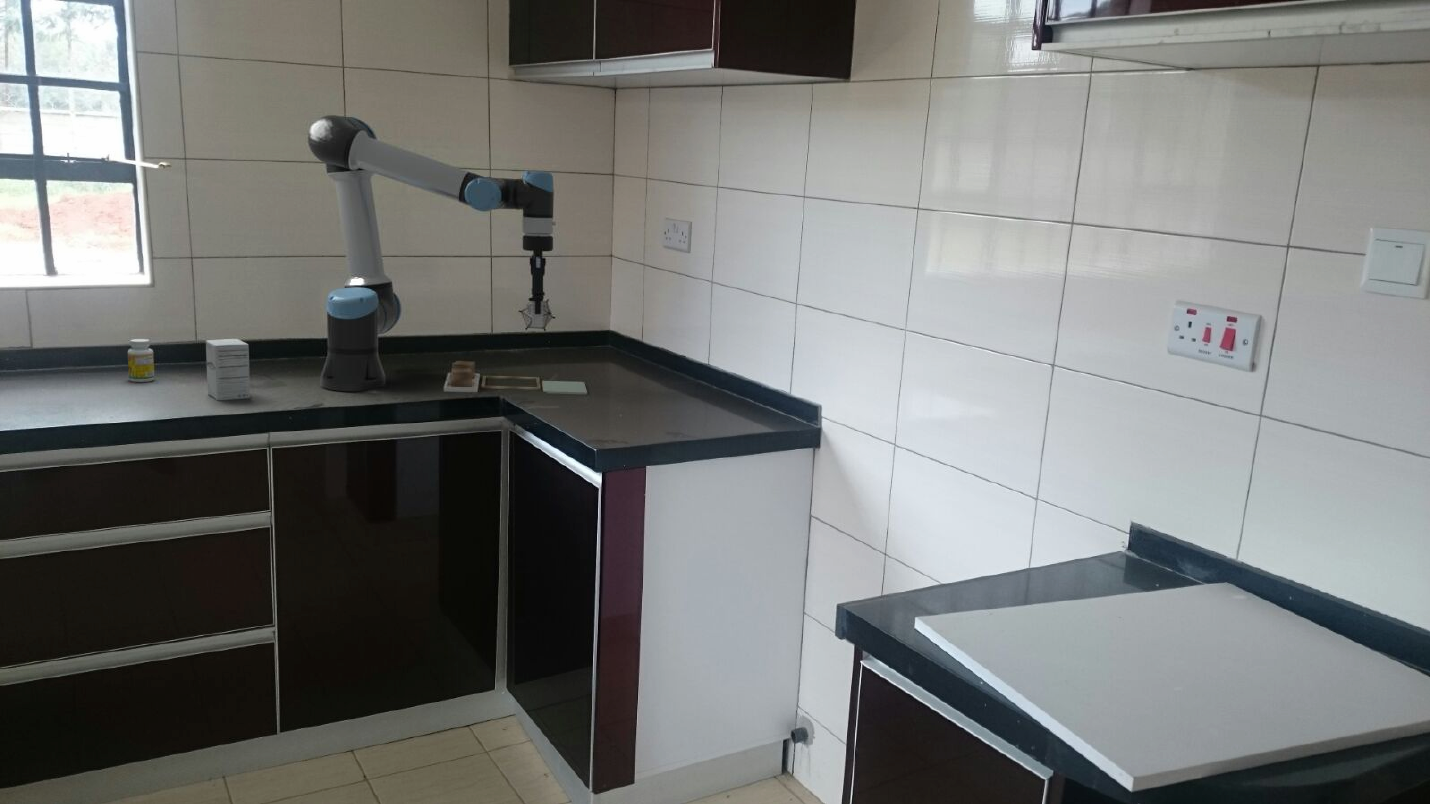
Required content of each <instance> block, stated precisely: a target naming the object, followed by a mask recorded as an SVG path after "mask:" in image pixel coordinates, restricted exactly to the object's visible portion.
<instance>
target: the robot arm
mask: <svg viewBox="0 0 1430 804" xmlns="http://www.w3.org/2000/svg"><path fill="white" fill-rule="evenodd" d="M307 143H308V147H309V149H310V151H311V153H312V154H313V156H314V157H315V158H317V159H318V160H319V161H321V163H322V162H323V163H324V164H325V168H326V169H325V170H326V174H327V176H328V177H329V178H331V179H332V180H333V181H334V183H335V185H334V186H335V193H336V198H337V199H336V200H337V203H338V204H337V205H338V211H339V218H340V223H341V231H342V237H343V245H344V251H345V256H346V264H347V270H348V277H349V278H348V279H347V280H346V282H345V283H344V288H338V289H335V290H333V291H330V293H329V294H328V296H327V304H326V306H325V307H326V308H325V309H326V319H327V320H326V325H327V329H326V330H327V356H326V359H325V362H324V366H323V369H322V371H321V374H320V387H321V388H323V389H327V390H331V391H335V392H336V391H339V392H367V391H370V390H371V389H372V390H374V389H378V388H382V387H384V386H386V375H385V371H384V369H383V365H382V363H381V360H380V357H379V335H383V334H385V333H387V332H389V331H390V330H392V329H393V328H394V327H395V326H396V325H397V324H398V322H399V320H400V319H401V316H402V303H401V301H400V298H399V297H398V295H397V294H396V292H394V286H393V281H392V279H391V278H390V277H389V276H387V275H386V273H385V268H384V262H383V261H384V260H383V255H382V247H381V241H380V234H379V233H380V232H379V227H378V219H377V212H376V204H375V199H374V192H373V186H372V185H373V184H372V177H373V176H374V174H376V175H379V176H382V177H384V178H388V179H391V180H395V181H397V182H400V183H403V184H406V185H409V186H412V187H415V188H417V189H421V190H424V191H426V192H429V193H432V194H435V195H438V196H441V197H442V198H443V197H444V198H447V199H450V200H452V201H455V202H458V203H460V204H461V203H462V204H464V205H466V206H469V207H470V208H472V209H473V210H476V211H479V212H483V213H484V212H489V211H494V210H519V211H520V210H522V225H521V226H522V229H521V230H522V231H521V232H522V233H523V234H524V235H522V249H523V250H524V251H526V252H532V256H531V257H529V266H530V275H531V281H532V282H531V283H532V284H531V297H529V298H530V301H532V327H543V301H544V298H545V297H544V296H545V295H546V292H545V291H544V276H545V275H546V271H545V270H546V265H547V264H546V263H547V258H546V257H543V255H544V254H543V252H553V250H554V237H553V235H552V234H553V233H554V226H556V221H554V202H555V201H554V200H555V199H554V198H555V197H554V196H555V190H554V176H553V174H552V173H551V172H548V171H528V170H527V171H523V173H522V177H521V178H505V177H491V176H483V175H479V174H477V173H473V172H470V171H467V170H465V169H462V168H459V167H456V166H454V165H450V164H448V163H445V162H442V161H440V160H439V161H438V160H436V159H433V158H430V157H428V156H425V155H422V154H419V153H416V152H413V151H410V150H407V149H404V148H401V147H398V146H396V145H392V144H390V143H387V142H384V141H382V140H378V138H377V135H376V133H375V131H374V129H373V128H371V126H370V125H369V124H368V123H366V122H365V121H364V120H361V119H359V118H357V117H354V116H341V115H337V114H336V115H335V114H328V115H325V116H323V115H322V116H321V117H319V118H318V119H316V120H315V121H314V122H312V124H311V126H310V128H309V130H308V133H307Z"/></svg>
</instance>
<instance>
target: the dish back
mask: <svg viewBox="0 0 1430 804" xmlns="http://www.w3.org/2000/svg"><path fill="white" fill-rule="evenodd" d="M480 377H481V374H480V373H475V379H472V381H478V382H479V383H480V380H481V379H480ZM446 381H451V372H447V376H446V380H445V382H446Z"/></svg>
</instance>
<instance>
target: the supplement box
mask: <svg viewBox="0 0 1430 804" xmlns="http://www.w3.org/2000/svg"><path fill="white" fill-rule="evenodd" d="M205 349H206V350H205V353H206V354H205V356H206V358H205V359H206V383H207V387H206V388H207V394H208V395H210V396H211V397H213V398H214V399H215V400H217V401H228V400H229V401H230V400H242V399H250V398H251V387H250V382H251V381H250V380H251V379H250V353H249V351H250V349H249V344H248V343H246V342H244V341H242V340H241V339H239V338H229V339H224V338H223V339H209V340H208V339H207V340H205Z"/></svg>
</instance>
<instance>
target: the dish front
mask: <svg viewBox="0 0 1430 804" xmlns="http://www.w3.org/2000/svg"><path fill="white" fill-rule="evenodd" d="M479 385H480V381H479V382H478V381H472V387H451V381H446V380H445V382H444V385H443V392H450V393H451V392H453V393H478V391H479Z"/></svg>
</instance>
